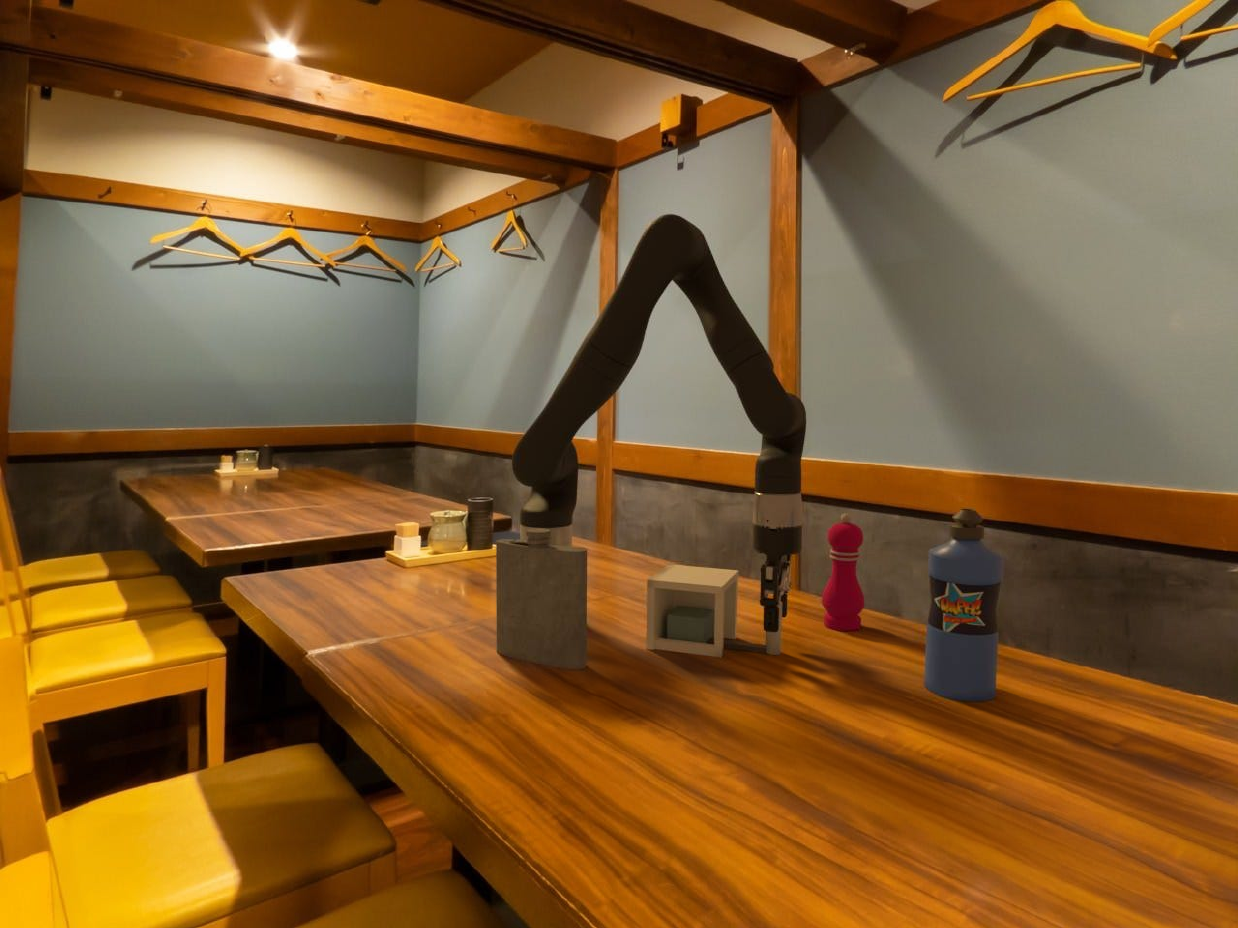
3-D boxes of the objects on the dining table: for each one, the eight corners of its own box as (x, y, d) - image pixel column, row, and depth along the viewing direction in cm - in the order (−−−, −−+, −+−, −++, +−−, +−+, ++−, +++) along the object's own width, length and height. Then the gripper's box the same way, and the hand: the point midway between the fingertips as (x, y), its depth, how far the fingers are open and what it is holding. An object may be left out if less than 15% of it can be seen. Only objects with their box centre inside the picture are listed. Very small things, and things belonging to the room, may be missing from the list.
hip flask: (590, 664, 114) (591, 531, 113) (575, 672, 111) (576, 536, 109) (505, 646, 122) (504, 522, 120) (488, 654, 118) (488, 526, 117)
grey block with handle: (667, 645, 124) (667, 596, 123) (677, 634, 129) (678, 588, 128) (777, 659, 117) (779, 607, 117) (783, 647, 123) (785, 598, 122)
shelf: (646, 648, 122) (647, 579, 121) (668, 628, 133) (669, 564, 132) (720, 658, 117) (722, 586, 116) (737, 636, 129) (738, 570, 128)
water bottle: (992, 707, 100) (1002, 516, 97) (916, 692, 104) (924, 510, 102) (1000, 685, 107) (1009, 508, 105) (929, 672, 112) (937, 503, 110)
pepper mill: (865, 633, 131) (870, 517, 129) (822, 630, 132) (825, 515, 131) (861, 621, 138) (865, 511, 136) (819, 618, 139) (823, 509, 138)
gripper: (761, 513, 127) (759, 610, 128) (744, 526, 113) (742, 634, 115) (807, 516, 124) (805, 614, 125) (795, 529, 111) (793, 639, 112)
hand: (775, 623), depth 120 cm, fingers open, 8 cm apart
